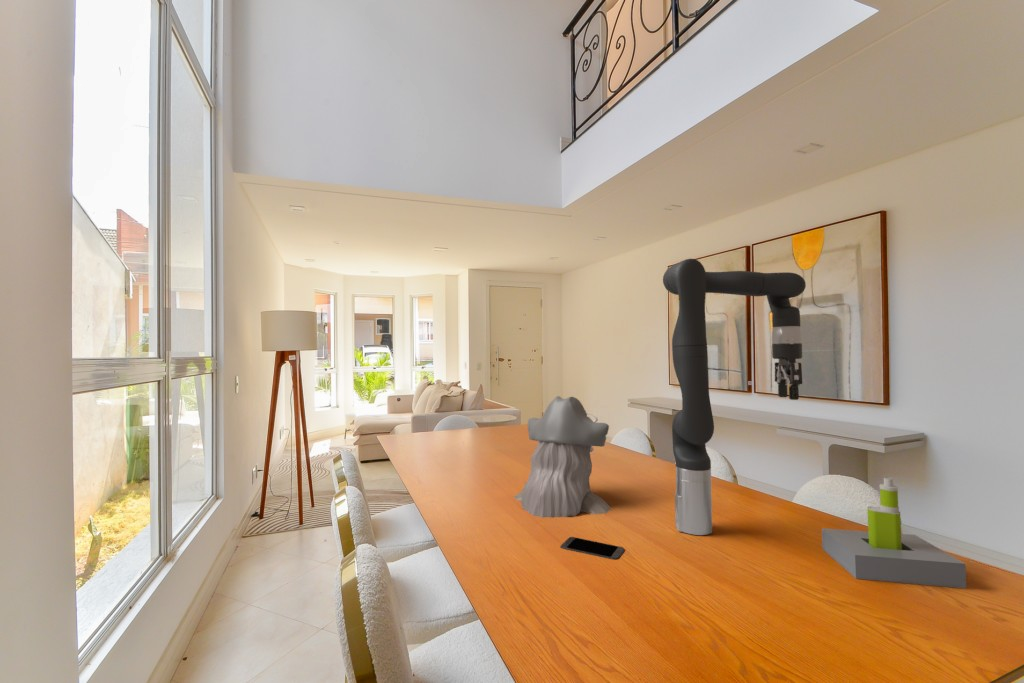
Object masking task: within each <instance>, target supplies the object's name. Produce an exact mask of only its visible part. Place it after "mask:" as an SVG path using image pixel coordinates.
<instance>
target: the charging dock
mask: <svg viewBox="0 0 1024 683" xmlns="http://www.w3.org/2000/svg"><path fill="white" fill-rule="evenodd" d="M901 543H902V550H894V549H881V548H874V547H872V546H871V545H869V534H868V530H867V531H864V530H854V529H853V530H852V529H851V530H850V529H838V528H836V529H835V528H821V547H822V550H823V551H824V552H826V553H827V554H828V556H830V557H831V558H832V559H833V560H834V561H836V562H837V563H838V564H839V565H840V566H841V567H842V568H844V569H845V571H847V572H848V573H849V574H850V575H852V576H851V577H853V578H855V579H856V580H869V581H879V582H888V583H889V582H890V583H901V584H911V585H912V584H914V585H923V586H924V585H925V586H936V587H944V588H945V587H946V588H955V589H958V588H959V589H967V570H966V563H965V562H963V561H962V560H960V559H958V558H957V557H954V556H953V555H951V554H949V553H948V552H946V551H944V550H943V549H940V548H939V547H937V546H935V545H934V544H931V543H930V542H928V541H927V540H925V539H923V538H921V537H919V536H918V535H916V534H909V533H901Z"/></svg>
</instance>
